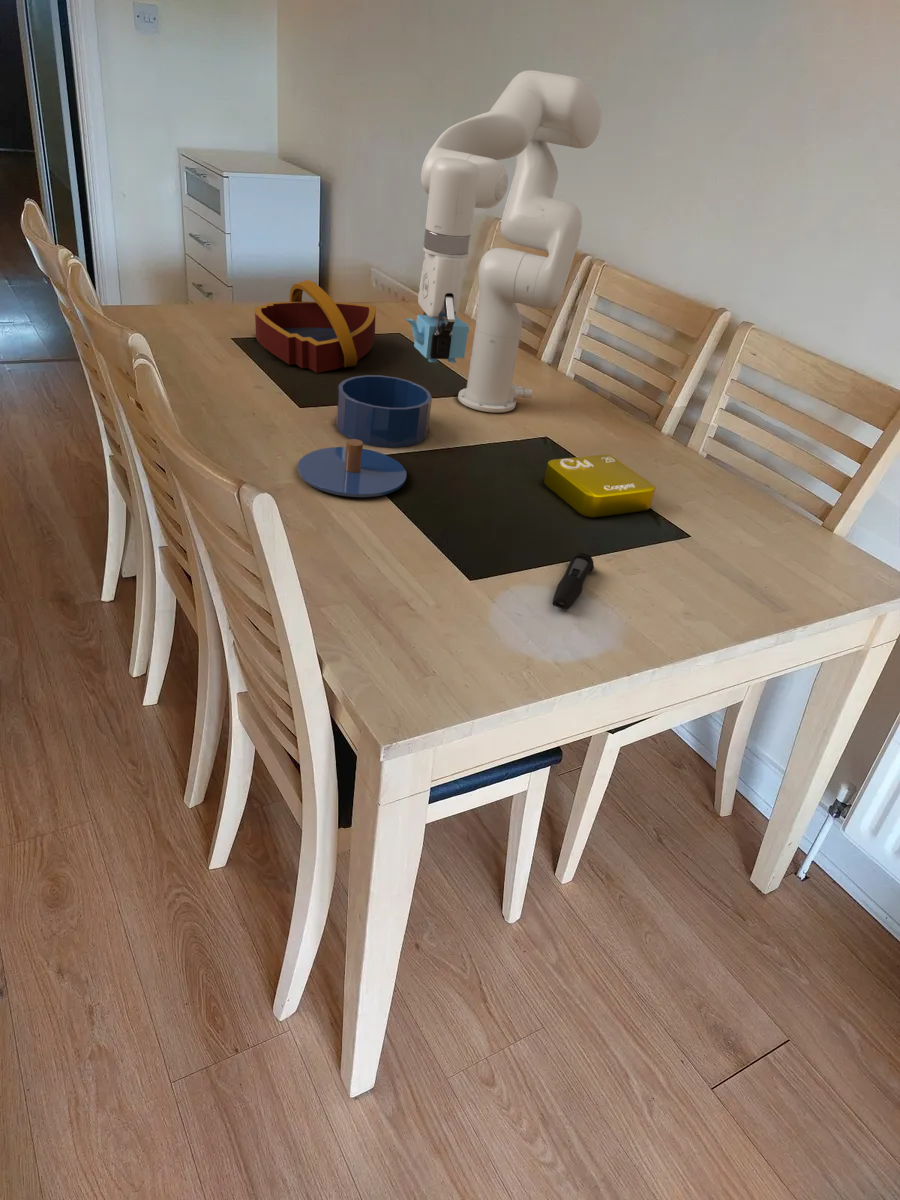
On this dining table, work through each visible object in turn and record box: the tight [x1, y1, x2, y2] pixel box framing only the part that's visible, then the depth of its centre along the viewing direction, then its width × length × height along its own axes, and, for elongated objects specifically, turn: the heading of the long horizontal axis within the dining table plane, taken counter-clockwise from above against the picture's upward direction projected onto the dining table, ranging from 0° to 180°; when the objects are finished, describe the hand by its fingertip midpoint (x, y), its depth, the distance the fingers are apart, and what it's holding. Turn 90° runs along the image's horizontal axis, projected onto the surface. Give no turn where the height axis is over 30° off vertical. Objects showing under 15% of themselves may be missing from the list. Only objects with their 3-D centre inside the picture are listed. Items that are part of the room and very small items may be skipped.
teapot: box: [404, 313, 470, 364], centre depth 150 cm, size 12×6×8 cm, turn 112°
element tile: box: [543, 454, 656, 519], centre depth 154 cm, size 15×15×5 cm
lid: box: [297, 438, 407, 498], centre depth 148 cm, size 19×19×6 cm
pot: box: [335, 374, 433, 448], centre depth 167 cm, size 18×18×8 cm
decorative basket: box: [254, 279, 377, 374], centre depth 200 cm, size 34×29×15 cm
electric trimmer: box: [551, 552, 595, 611], centre depth 127 cm, size 4×16×3 cm, turn 159°
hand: (434, 350), depth 151 cm, fingers closed on teapot, 6 cm apart
